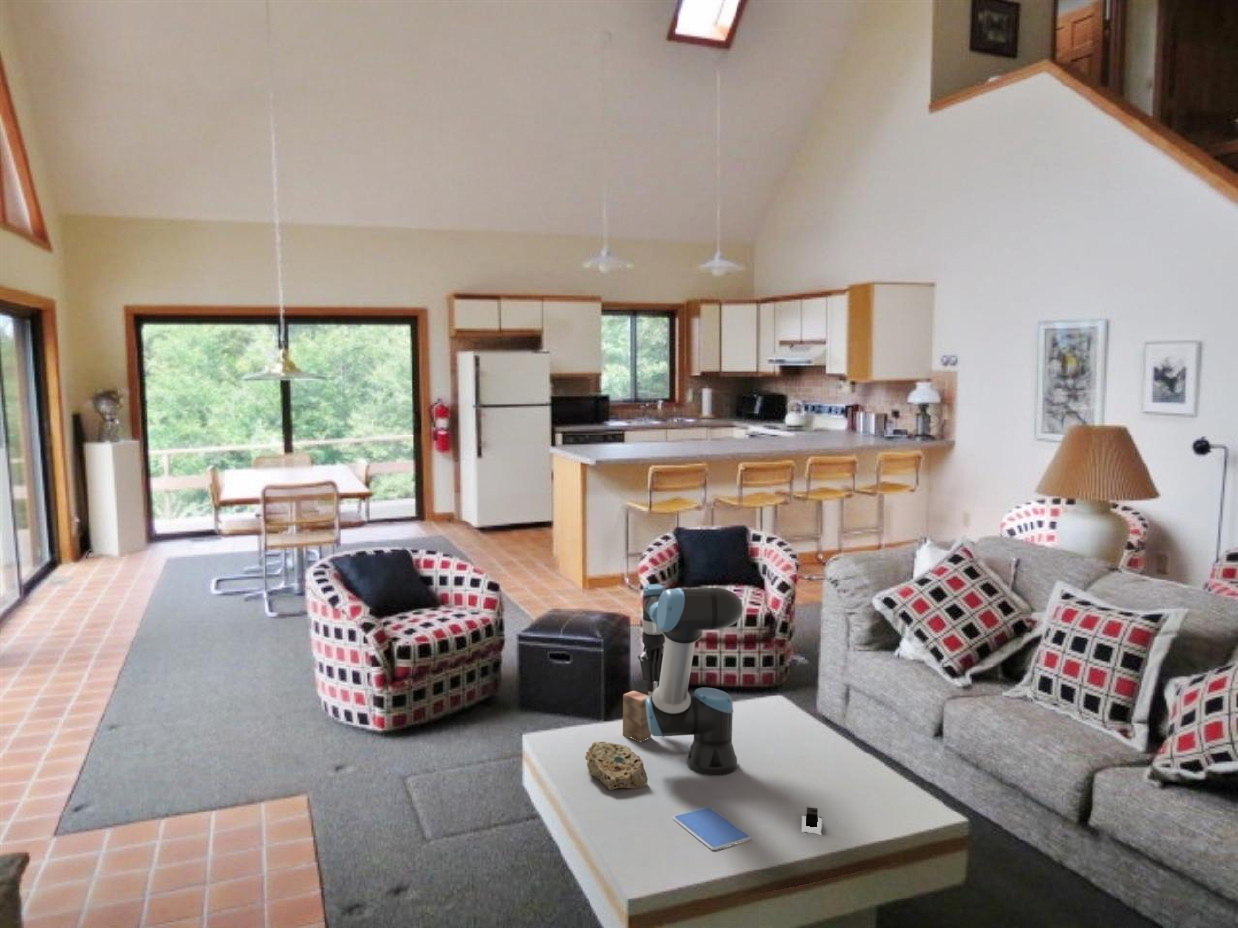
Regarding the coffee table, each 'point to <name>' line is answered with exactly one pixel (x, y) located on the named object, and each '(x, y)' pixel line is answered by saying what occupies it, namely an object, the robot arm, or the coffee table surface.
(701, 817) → the tablet computer
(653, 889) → the coffee table surface
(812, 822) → the black block
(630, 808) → the coffee table surface
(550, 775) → the coffee table surface
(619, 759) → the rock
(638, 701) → the light brown wooden block
